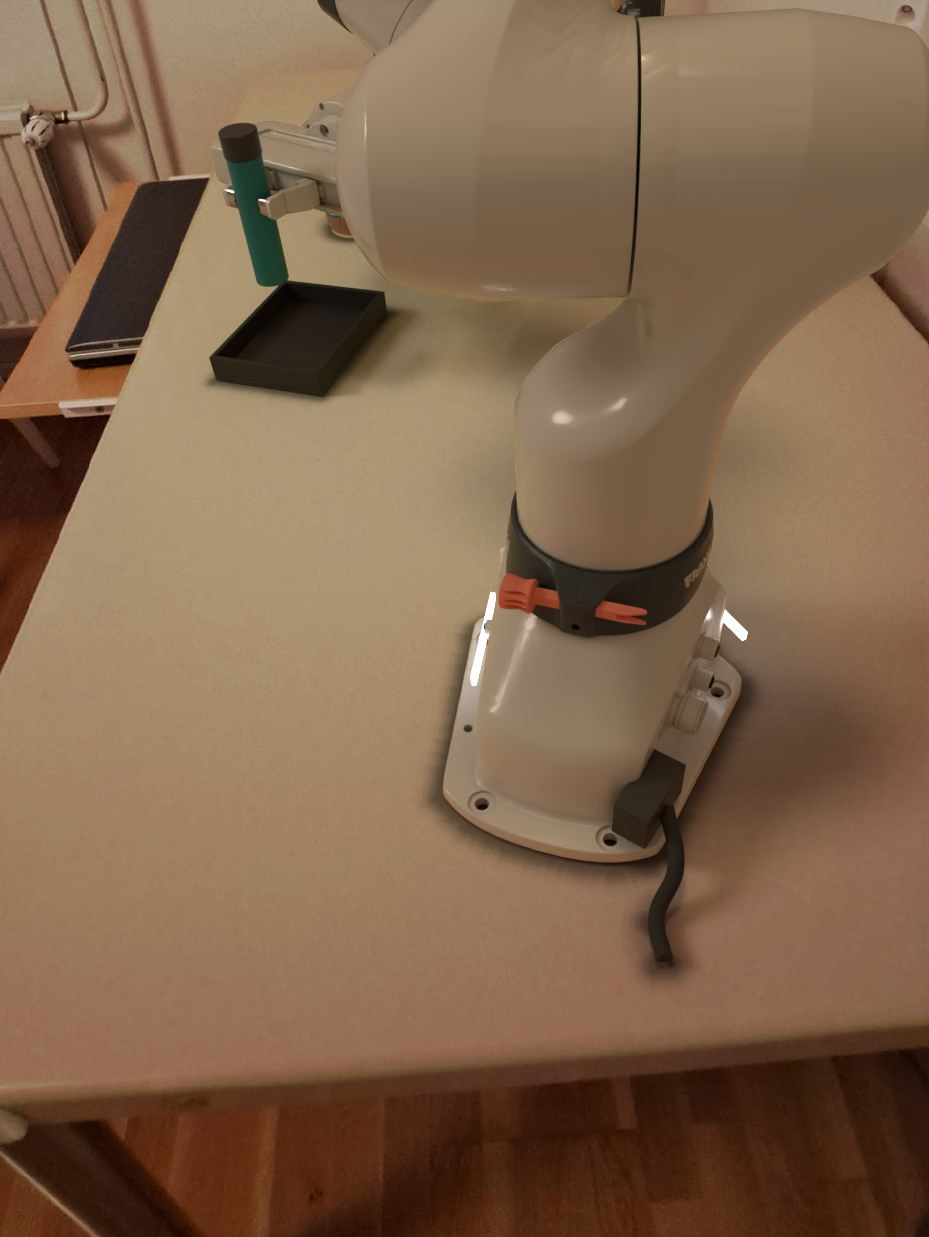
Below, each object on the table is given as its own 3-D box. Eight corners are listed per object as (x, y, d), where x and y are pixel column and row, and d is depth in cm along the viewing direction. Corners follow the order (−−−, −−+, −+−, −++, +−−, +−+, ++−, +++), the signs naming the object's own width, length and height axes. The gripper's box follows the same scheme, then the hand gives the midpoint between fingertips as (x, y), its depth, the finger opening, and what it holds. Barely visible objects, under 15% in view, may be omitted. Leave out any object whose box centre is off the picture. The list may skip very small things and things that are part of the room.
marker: (280, 289, 85) (244, 138, 75) (249, 285, 86) (210, 136, 76) (296, 272, 87) (263, 123, 77) (265, 268, 88) (230, 121, 78)
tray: (322, 396, 91) (317, 373, 89) (215, 380, 94) (208, 357, 92) (387, 313, 101) (384, 291, 99) (288, 301, 104) (283, 279, 102)
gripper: (267, 92, 90) (157, 144, 83) (434, 128, 81) (325, 190, 74) (281, 160, 95) (178, 215, 88) (440, 202, 85) (339, 266, 78)
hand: (247, 204), depth 81 cm, fingers closed on marker, 3 cm apart
